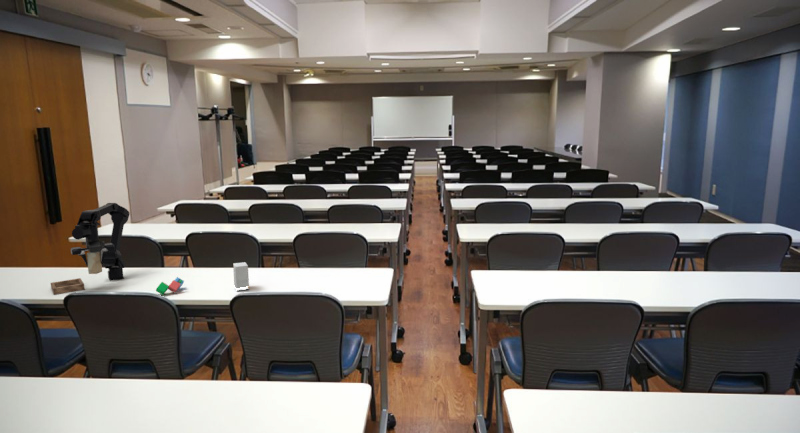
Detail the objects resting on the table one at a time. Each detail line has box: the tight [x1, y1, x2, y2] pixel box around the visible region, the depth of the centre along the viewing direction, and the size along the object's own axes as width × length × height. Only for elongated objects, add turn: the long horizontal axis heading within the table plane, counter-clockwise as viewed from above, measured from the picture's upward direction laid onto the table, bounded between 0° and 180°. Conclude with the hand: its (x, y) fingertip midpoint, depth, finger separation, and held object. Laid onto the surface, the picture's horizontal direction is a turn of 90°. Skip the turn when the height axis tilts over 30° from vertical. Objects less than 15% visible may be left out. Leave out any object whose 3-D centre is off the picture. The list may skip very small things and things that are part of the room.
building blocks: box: [155, 276, 185, 296], centre depth 249 cm, size 8×8×12 cm
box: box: [86, 251, 103, 275], centre depth 254 cm, size 5×4×11 cm
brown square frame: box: [50, 278, 85, 296], centre depth 254 cm, size 13×13×3 cm
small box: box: [232, 261, 250, 288], centre depth 254 cm, size 8×6×13 cm
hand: (94, 265), depth 254 cm, fingers closed on box, 6 cm apart
